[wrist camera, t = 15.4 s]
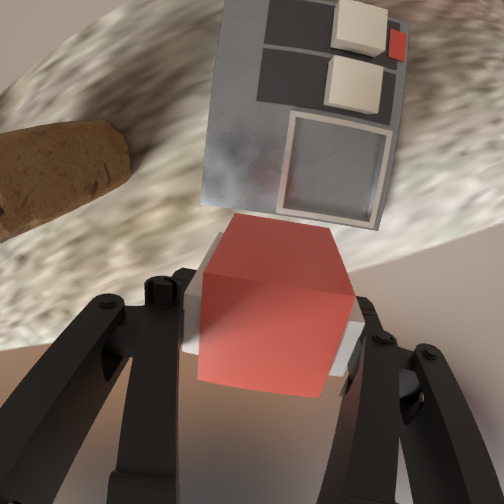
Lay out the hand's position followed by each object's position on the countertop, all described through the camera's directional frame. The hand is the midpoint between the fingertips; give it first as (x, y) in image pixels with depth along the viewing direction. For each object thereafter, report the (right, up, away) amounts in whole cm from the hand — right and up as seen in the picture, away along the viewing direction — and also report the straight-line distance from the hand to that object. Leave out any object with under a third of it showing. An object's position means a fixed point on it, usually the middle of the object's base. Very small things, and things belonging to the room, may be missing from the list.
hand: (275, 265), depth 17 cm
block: (-19, +11, +14) cm, 26 cm away
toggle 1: (+8, +20, +4) cm, 22 cm away
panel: (+4, +15, +10) cm, 18 cm away
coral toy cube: (0, 0, 0) cm, 0 cm away
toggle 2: (+7, +15, +6) cm, 18 cm away
